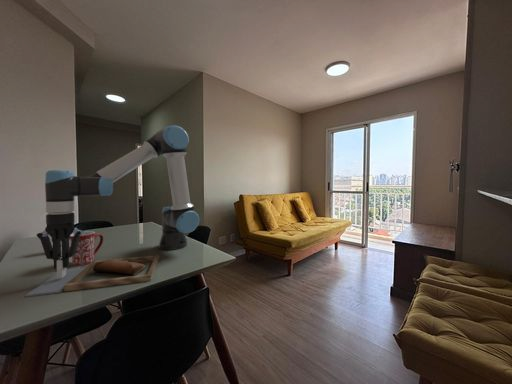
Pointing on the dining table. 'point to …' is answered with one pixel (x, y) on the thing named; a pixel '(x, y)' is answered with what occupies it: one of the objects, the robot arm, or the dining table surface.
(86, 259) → the mug
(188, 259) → the dining table surface
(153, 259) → the open square wooden frame
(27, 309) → the dining table surface
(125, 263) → the sunglasses case
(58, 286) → the felt pad
